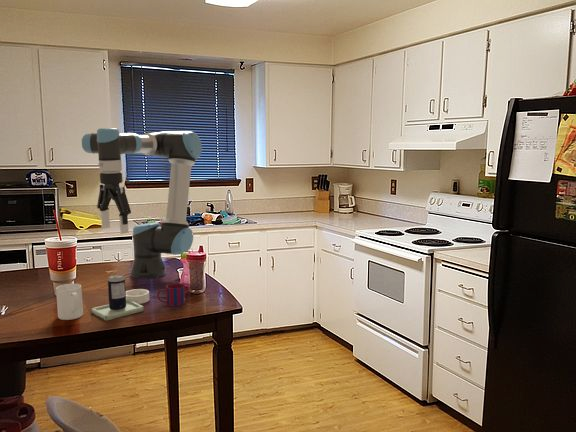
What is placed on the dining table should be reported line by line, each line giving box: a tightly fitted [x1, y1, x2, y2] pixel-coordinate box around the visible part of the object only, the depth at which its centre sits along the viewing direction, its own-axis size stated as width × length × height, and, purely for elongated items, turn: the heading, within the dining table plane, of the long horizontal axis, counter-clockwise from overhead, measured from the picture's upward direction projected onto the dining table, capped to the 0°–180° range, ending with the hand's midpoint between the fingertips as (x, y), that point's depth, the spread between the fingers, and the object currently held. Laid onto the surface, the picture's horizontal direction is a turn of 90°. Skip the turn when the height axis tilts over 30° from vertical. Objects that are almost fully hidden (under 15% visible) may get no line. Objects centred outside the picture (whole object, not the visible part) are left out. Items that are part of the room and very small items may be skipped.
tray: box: [91, 300, 145, 321], centre depth 179 cm, size 14×11×2 cm
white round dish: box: [126, 288, 150, 305], centre depth 192 cm, size 9×9×3 cm
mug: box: [55, 283, 84, 321], centre depth 173 cm, size 12×8×10 cm, turn 39°
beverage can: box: [107, 274, 127, 311], centre depth 179 cm, size 6×6×12 cm
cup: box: [157, 282, 186, 307], centre depth 187 cm, size 7×10×7 cm
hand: (115, 230), depth 185 cm, fingers open, 13 cm apart
